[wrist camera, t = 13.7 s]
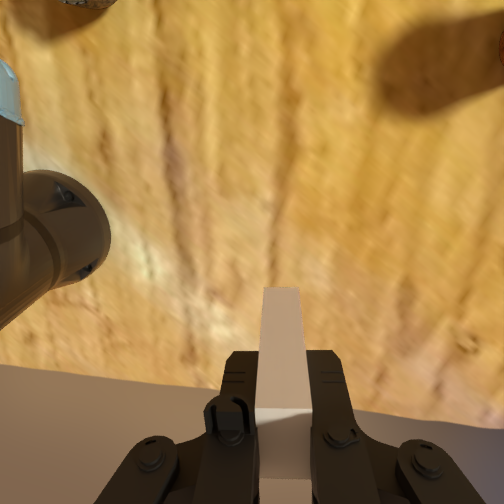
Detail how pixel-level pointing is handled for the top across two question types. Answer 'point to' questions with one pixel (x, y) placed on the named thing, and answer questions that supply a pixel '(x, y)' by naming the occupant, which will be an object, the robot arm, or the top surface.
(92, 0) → the cup
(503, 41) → the disposable coffee cup
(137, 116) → the top surface
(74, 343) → the top surface
